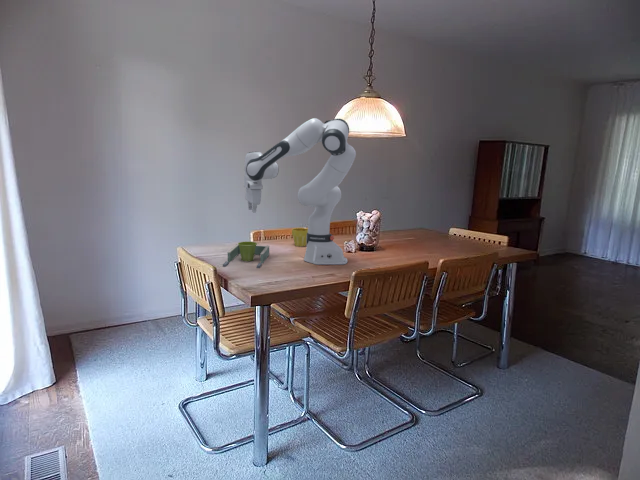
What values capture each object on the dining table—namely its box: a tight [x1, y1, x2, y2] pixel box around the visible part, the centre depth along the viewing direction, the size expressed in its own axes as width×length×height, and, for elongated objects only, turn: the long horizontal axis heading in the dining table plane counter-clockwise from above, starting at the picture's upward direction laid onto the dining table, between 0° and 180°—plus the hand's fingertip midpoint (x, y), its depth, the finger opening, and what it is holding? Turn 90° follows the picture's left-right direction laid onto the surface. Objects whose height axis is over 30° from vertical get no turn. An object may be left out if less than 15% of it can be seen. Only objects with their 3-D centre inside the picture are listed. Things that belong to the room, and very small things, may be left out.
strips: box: [222, 260, 263, 269], centre depth 208 cm, size 18×6×1 cm, turn 88°
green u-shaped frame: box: [227, 243, 270, 265], centre depth 223 cm, size 18×20×5 cm
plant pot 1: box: [237, 241, 258, 262], centre depth 219 cm, size 9×9×9 cm
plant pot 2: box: [291, 227, 308, 247], centre depth 259 cm, size 10×10×10 cm
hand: (252, 211), depth 224 cm, fingers open, 8 cm apart
